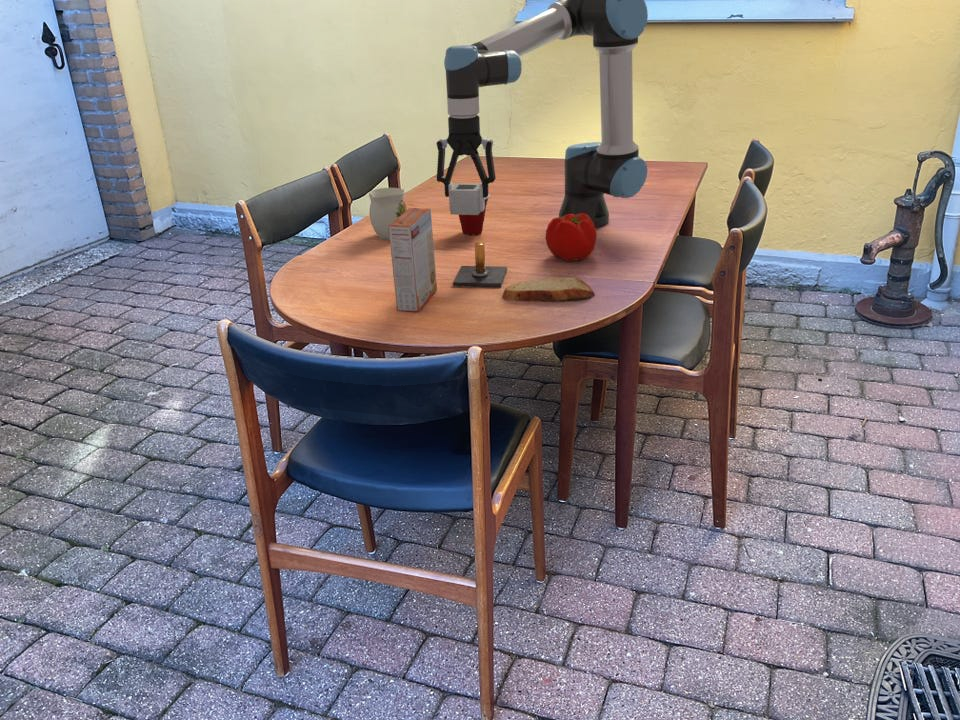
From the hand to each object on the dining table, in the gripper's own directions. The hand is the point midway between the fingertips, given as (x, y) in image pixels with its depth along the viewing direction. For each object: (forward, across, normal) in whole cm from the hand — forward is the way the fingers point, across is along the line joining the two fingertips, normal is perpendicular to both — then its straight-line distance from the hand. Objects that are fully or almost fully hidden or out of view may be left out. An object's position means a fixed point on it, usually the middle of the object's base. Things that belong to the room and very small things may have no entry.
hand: (467, 209), depth 203 cm
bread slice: (+17, -22, +14) cm, 31 cm away
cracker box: (+17, +9, +21) cm, 28 cm away
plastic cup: (+17, +6, -32) cm, 37 cm away
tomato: (+17, -25, -13) cm, 33 cm away
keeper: (+16, -4, +4) cm, 17 cm away
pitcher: (+17, +29, -29) cm, 44 cm away
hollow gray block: (0, 0, 0) cm, 0 cm away
